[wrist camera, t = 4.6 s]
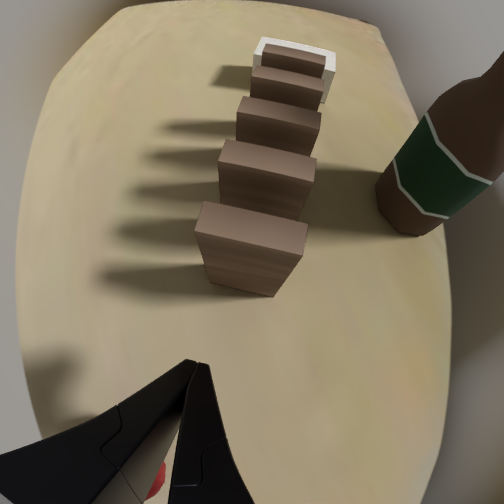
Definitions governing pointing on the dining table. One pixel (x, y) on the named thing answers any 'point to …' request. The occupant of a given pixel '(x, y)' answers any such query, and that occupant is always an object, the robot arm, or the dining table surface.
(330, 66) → the end block
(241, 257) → the domino
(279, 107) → the domino
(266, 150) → the domino
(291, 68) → the domino
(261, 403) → the dining table surface
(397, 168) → the beer bottle
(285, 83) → the domino
